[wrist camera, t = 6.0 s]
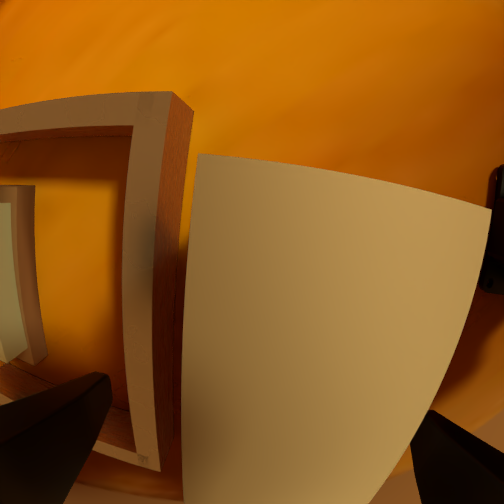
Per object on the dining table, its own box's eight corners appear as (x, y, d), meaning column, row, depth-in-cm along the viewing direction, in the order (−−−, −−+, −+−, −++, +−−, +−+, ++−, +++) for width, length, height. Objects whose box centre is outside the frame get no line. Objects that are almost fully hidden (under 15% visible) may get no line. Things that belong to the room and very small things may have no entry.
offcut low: (41, 184, 13) (17, 186, 11) (52, 351, 16) (34, 365, 14) (-1, 184, 14) (-23, 186, 12) (11, 335, 16) (-6, 346, 14)
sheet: (328, 189, 12) (492, 209, 2) (281, 421, 15) (281, 590, 5) (255, 178, 12) (198, 152, 3) (226, 414, 15) (191, 582, 5)
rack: (194, 111, 12) (172, 91, 9) (174, 436, 15) (160, 471, 13) (-7, 124, 12) (-41, 121, 9) (10, 375, 16) (-13, 395, 13)
